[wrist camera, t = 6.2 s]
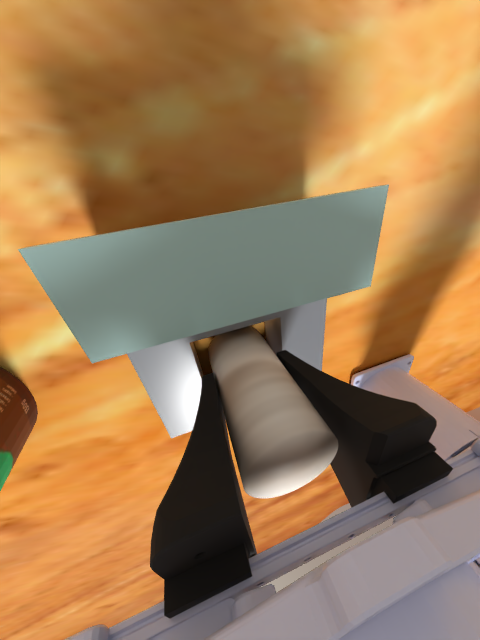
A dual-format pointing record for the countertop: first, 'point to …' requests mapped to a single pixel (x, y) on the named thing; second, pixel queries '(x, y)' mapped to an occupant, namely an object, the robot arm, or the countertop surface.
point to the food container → (14, 420)
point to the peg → (268, 416)
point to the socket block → (211, 286)
